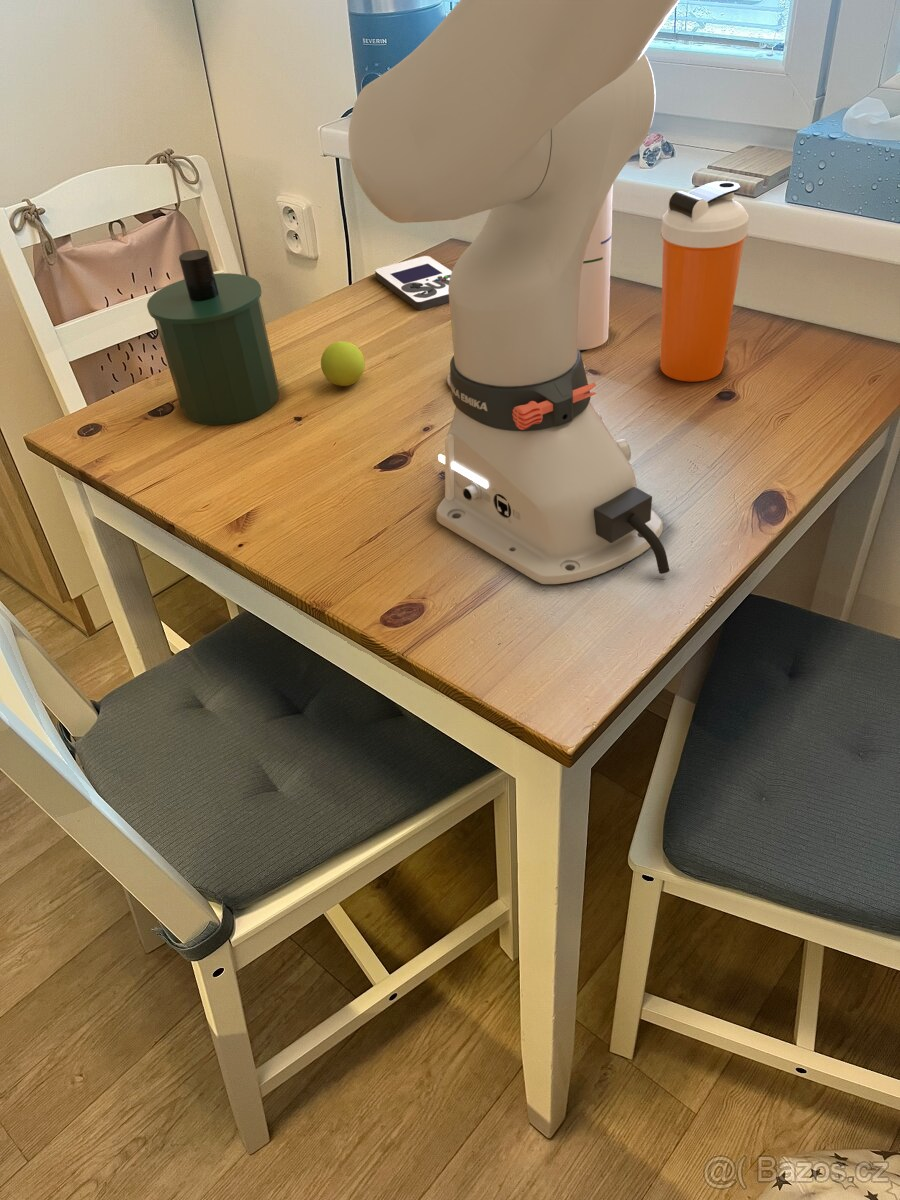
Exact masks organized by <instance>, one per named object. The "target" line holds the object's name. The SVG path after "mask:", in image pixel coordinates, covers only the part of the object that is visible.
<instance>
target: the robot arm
mask: <svg viewBox="0 0 900 1200" xmlns="http://www.w3.org/2000/svg"><path fill="white" fill-rule="evenodd" d="M680 1H681V0H459V1H458V3H457V4H456V5H455V6H454V7H453V8H452V9H451V10H450V11H449V13H448V14H447V15H446V16H445V17H444V19H443V20H442V21H441V22H440V23H439V24H438V25H437V26H436V28H434V29H433V30H432V32H431V33H430V34H429V35H427V37H426V38H425V39H424V40H423V41H422V42H421V43H420V44H419V45H418V46H417V47H416V48H415V49H414V50H412V52H411V53H409V54H408V55H406V56H405V58H403V59H401V60H400V61H399V62H398V63H397V64H395V65H394V66H393V67H391V68H389V69H388V70H386V71H385V72H384V73H382V74H381V75H379V76H378V77H376V78H375V79H373V80H372V81H370V82H369V83H367V84H366V85H365V86H363V87H362V89H361V90H360V92H359V94H358V96H357V98H356V100H355V102H354V105H353V108H352V112H351V115H350V119H349V126H348V138H347V139H348V153H349V160H350V163H351V168H352V171H353V174H354V176H355V178H356V182H357V183H358V185H359V187H360V188H361V191H362V192H363V194H364V195H365V196H366V198H367V200H368V201H369V202H370V203H371V204H372V205H373V206H374V207H375V208H376V209H377V210H378V211H379V212H380V213H381V214H382V215H384V216H385V217H386V218H388V219H389V220H391V221H393V222H394V223H401V224H405V223H407V224H408V223H409V224H410V223H433V222H444V221H455V220H460V219H463V218H465V217H469V216H473V215H476V214H479V213H483V212H486V211H489V213H488V215H487V218H486V219H485V221H484V224H483V226H482V228H481V230H480V231H479V233H478V234H477V236H476V238H475V239H473V241H472V242H471V243H470V244H469V246H468V247H466V248H465V250H464V251H463V252H462V253H461V255H460V256H459V258H458V259H457V260H456V262H455V264H454V266H453V268H452V270H451V271H452V273H451V277H450V281H449V289H448V291H449V302H448V304H449V313H450V314H449V315H450V326H451V327H450V328H451V340H452V350H453V351H452V352H453V354H452V357H451V359H450V363H449V369H450V370H449V374H450V376H449V377H450V386H449V387H450V390H451V400H452V402H453V404H454V406H455V410H454V413H453V417H452V420H451V424H450V426H449V429H448V431H447V434H446V437H445V440H444V455H443V454H442V453H440V454H438V455H437V456H438V462H440V463H442V464H444V494H445V495H444V498H443V499H442V500H441V501H440V503H439V504H438V506H437V507H436V521H437V522H438V524H440V525H442V526H444V527H445V528H446V529H448V530H450V531H452V532H453V533H455V534H456V535H458V536H460V537H462V538H463V539H465V540H466V541H468V542H469V543H472V544H473V545H474V546H476V547H478V548H479V549H481V550H483V551H485V552H487V553H488V554H490V555H491V556H493V557H495V558H496V559H498V560H499V561H501V562H503V563H505V564H506V565H508V566H510V567H511V568H513V569H515V570H516V571H518V572H519V573H521V574H523V575H524V576H526V577H528V578H530V579H531V580H533V581H535V582H536V583H539V584H542V585H560V584H567V583H569V584H570V583H574V582H578V581H582V580H586V579H590V578H593V577H596V576H598V575H601V574H604V573H606V572H608V571H611V570H613V569H616V568H618V567H619V566H622V565H624V564H626V563H628V562H630V561H632V560H634V559H635V558H638V557H639V556H640V555H642V554H643V553H644V552H646V551H647V550H649V549H650V548H651V550H652V552H653V554H654V557H655V560H656V566H657V570H658V574H660V575H664V574H667V573H669V572H670V571H671V570H670V565H669V561H668V556H667V552H666V549H665V547H664V545H663V543H662V541H661V540H660V539H659V538H660V537H661V536H662V533H663V531H664V524H663V523H664V522H663V520H662V519H661V517H660V516H659V515H658V514H657V513H656V512H655V511H654V509H652V505H653V496H652V495H650V494H648V493H647V492H646V491H643V490H642V489H640V488H638V486H637V480H636V474H635V471H634V469H633V467H632V465H631V463H630V462H629V461H630V460H631V457H632V452H631V447H630V444H629V442H628V441H627V440H626V439H625V438H617V439H615V438H614V437H613V436H612V433H611V432H610V431H609V429H608V428H607V426H606V424H605V423H604V422H603V419H602V415H601V413H600V412H599V411H597V410H596V409H595V408H594V406H593V404H592V402H591V397H593V396H595V395H596V394H597V392H596V391H591V390H592V389H593V388H595V387H596V386H597V383H595V382H592V383H589V382H588V378H587V368H586V366H585V364H584V360H583V356H582V353H581V350H578V348H577V343H578V312H579V293H580V280H581V272H582V267H583V261H584V257H585V253H586V250H587V246H588V243H589V240H590V236H591V233H592V231H593V228H594V225H595V222H596V220H597V217H598V215H599V212H600V210H601V207H602V205H603V203H604V201H605V198H606V196H607V194H608V192H609V190H610V188H611V186H612V185H613V186H614V183H615V181H616V179H617V178H618V176H619V174H620V173H621V172H622V170H623V169H624V167H625V166H626V165H627V163H628V162H629V160H630V159H631V158H632V157H633V156H634V155H635V153H636V152H637V151H638V150H639V149H640V148H641V146H642V145H643V143H644V142H645V140H646V139H647V137H648V135H649V133H650V129H651V127H652V124H653V120H654V116H655V109H656V97H657V95H656V84H655V78H654V77H655V76H654V72H653V69H652V66H651V64H650V61H649V59H648V56H647V55H646V53H645V52H646V51H647V49H648V48H649V46H650V44H651V43H652V42H653V40H654V39H655V37H656V36H657V34H658V33H659V31H661V28H662V27H663V26H664V24H665V23H666V21H667V20H668V19H669V17H670V15H671V14H672V13H673V11H674V10H675V9H676V7H677V5H678V4H679V2H680Z"/></svg>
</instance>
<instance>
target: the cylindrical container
mask: <svg viewBox="0 0 900 1200" xmlns="http://www.w3.org/2000/svg"><path fill="white" fill-rule="evenodd" d="M613 193H614V184H613V185H612V186H611V188H610V190H609V192H608V194H607V196H606V198H605V201H604V203H603V205H602V207H601V210H600V212H599V215H598V217H597V220H596V222H595V225H594V228H593V231H592V233H591V236H590V240H589V243H588V246H587V250H586V253H585V257H584V261H583V267H582V272H581V280H580V293H579V312H578V343H577V348H578V350H579V351H584V350H591V349H595V348H598V347H601V346H603V345H604V344H605V343H606V342H607V341H608V339H609V323H610V293H611V291H610V288H611V263H612V262H611V260H612V259H611V258H612V234H613V232H612V230H613V198H614V197H613V196H614V194H613Z"/></svg>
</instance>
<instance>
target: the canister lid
mask: <svg viewBox="0 0 900 1200" xmlns="http://www.w3.org/2000/svg"><path fill="white" fill-rule="evenodd" d="M178 259H179V263H180V267H181V271H182V273H183V274H182V275H183V278H184V279H181V280H178V281H175V282H173V283H171V284H167V285H166V286H164V287H162V288H160V289H159V290H157V291H156V292H155V293H153V294H152V295H151V296H150V297H149V298H148V301H147V304H146V306H147V307H146V308H147V310H148V315H150V317H151V318H153V319H154V320H155V319H156V320H158V321H161V322H164V323H169V324H186V325H187V324H200V323H207V322H212V321H217V320H221V319H224V318H227V317H230V316H233V315H236V314H238V313H240V312H243V311H245V310H246V309H248V308H250V307H251V306H253V305H254V304H255V303H256V302H257V301H258V300H259V299H260V298H261V297H262V293H263V291H262V287H261V284H260V282H259V281H258V280H257V279H255V278H253V277H252V276H249V275H246V274H241V273H230V272H229V273H228V272H227V273H225V272H224V273H223V272H222V273H220V272H219V273H214V269H213V265H212V261H211V257H210V252H209V251H208V250H205V249H191V250H188V251H185V252H183V253H181V254H179V256H178ZM260 300H261V299H260Z"/></svg>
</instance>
